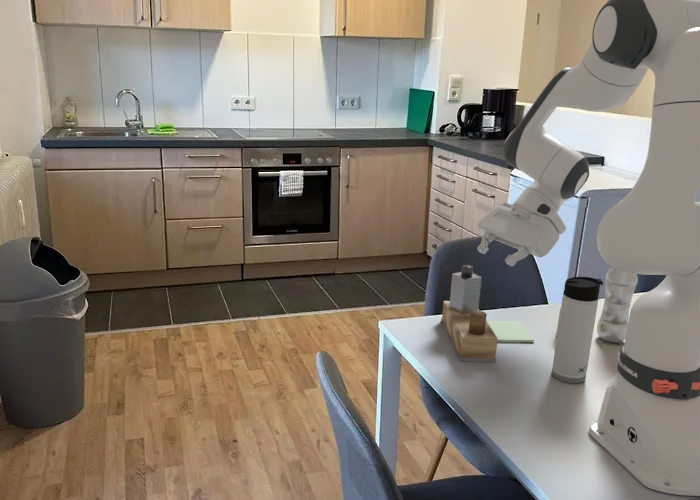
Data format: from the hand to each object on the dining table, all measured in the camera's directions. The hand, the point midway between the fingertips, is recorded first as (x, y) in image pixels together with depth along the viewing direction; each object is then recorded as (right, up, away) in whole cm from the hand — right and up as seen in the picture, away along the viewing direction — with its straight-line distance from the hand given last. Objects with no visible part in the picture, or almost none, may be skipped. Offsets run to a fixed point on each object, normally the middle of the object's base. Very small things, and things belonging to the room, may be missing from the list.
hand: (493, 257), depth 141 cm
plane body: (-7, -18, -3) cm, 19 cm away
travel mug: (+11, -23, -18) cm, 31 cm away
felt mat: (+3, -17, +1) cm, 17 cm away
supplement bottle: (+17, -18, +1) cm, 24 cm away
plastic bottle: (+26, -18, 0) cm, 32 cm away
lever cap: (-7, -12, 0) cm, 13 cm away
